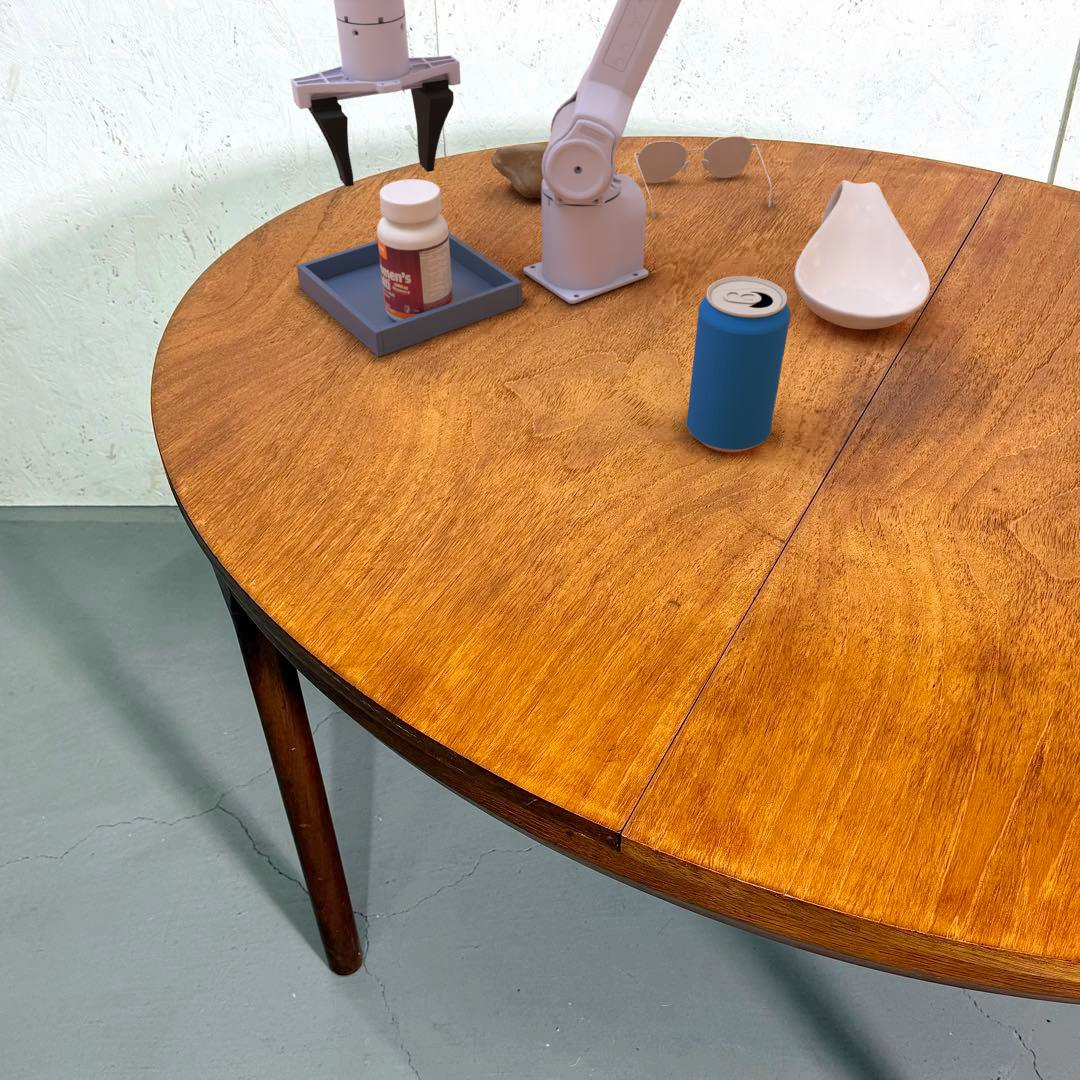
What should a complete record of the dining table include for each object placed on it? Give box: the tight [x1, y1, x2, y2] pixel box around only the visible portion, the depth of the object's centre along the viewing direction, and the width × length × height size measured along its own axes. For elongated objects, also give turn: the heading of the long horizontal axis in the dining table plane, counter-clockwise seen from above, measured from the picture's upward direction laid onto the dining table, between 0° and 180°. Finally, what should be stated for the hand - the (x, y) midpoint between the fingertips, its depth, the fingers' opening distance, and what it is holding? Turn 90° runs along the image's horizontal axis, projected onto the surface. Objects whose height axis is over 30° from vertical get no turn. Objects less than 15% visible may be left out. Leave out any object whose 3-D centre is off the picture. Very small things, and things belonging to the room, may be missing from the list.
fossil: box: [490, 143, 548, 200], centre depth 114 cm, size 9×4×10 cm
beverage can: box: [686, 275, 791, 453], centre depth 79 cm, size 6×6×12 cm
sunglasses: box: [633, 135, 773, 217], centre depth 114 cm, size 14×8×5 cm, turn 99°
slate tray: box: [295, 232, 524, 358], centre depth 99 cm, size 15×15×2 cm
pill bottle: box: [376, 178, 453, 322], centre depth 93 cm, size 6×6×11 cm
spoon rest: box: [793, 179, 931, 330], centre depth 98 cm, size 24×12×7 cm, turn 172°
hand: (387, 174), depth 97 cm, fingers open, 7 cm apart
